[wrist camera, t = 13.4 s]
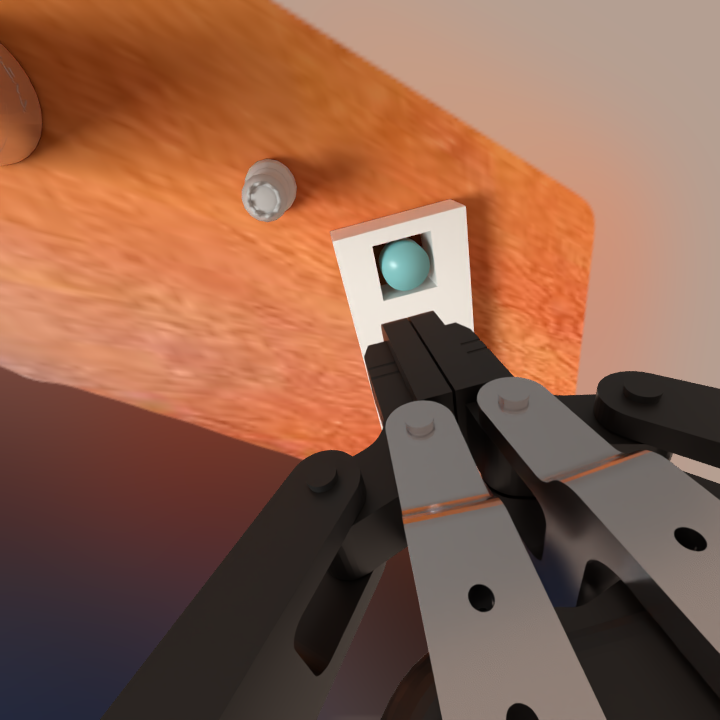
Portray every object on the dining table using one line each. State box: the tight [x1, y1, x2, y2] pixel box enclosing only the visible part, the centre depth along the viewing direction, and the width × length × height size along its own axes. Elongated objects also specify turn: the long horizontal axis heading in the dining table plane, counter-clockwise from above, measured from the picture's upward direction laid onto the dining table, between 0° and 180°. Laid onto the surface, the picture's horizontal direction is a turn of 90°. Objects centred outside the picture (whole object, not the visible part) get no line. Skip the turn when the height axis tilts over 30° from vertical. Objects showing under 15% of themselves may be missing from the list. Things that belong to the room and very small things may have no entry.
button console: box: [330, 199, 474, 429], centre depth 41 cm, size 12×26×4 cm, turn 13°
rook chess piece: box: [242, 159, 297, 222], centre depth 30 cm, size 4×4×8 cm
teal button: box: [379, 238, 430, 291], centre depth 35 cm, size 4×4×2 cm
